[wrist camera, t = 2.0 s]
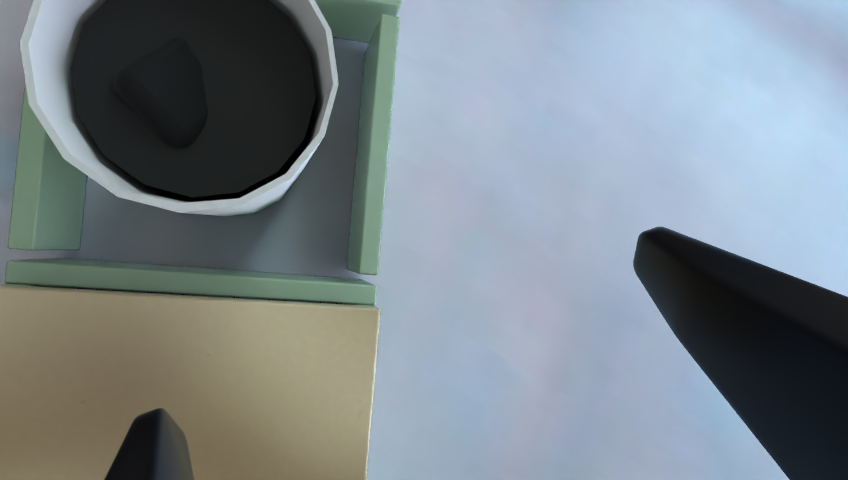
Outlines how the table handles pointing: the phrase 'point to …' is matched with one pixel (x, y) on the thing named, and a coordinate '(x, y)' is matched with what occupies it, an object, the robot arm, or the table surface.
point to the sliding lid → (185, 382)
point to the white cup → (183, 96)
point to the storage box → (61, 230)
